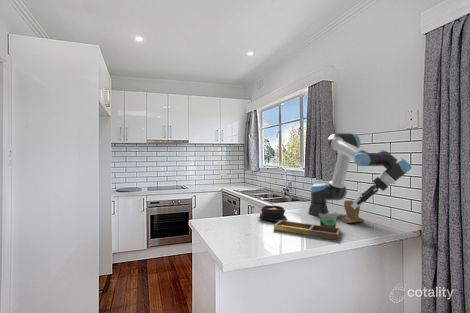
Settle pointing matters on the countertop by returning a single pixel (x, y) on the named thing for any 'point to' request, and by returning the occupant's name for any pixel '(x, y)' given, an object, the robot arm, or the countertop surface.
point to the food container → (328, 219)
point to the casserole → (273, 213)
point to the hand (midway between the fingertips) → (353, 205)
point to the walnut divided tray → (308, 230)
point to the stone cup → (351, 213)
